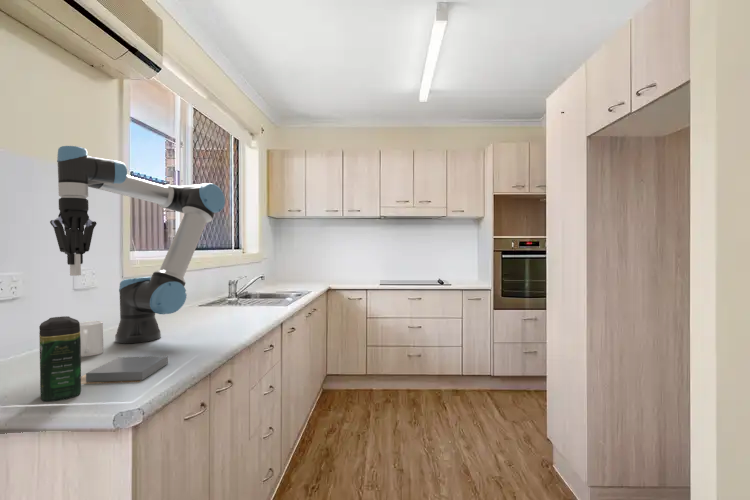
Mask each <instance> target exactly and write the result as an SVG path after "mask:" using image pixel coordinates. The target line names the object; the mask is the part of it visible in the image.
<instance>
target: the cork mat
mask: <svg viewBox="0 0 750 500" xmlns="http://www.w3.org/2000/svg"><path fill="white" fill-rule="evenodd" d="M142 381H143V380H134V381H102V382H86V374H84V375H81V385H91V384H122V383H124V384H125V383H127V384H128V383H140V382H142Z"/></svg>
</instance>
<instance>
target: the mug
mask: <svg viewBox="0 0 750 500" xmlns="http://www.w3.org/2000/svg"><path fill="white" fill-rule="evenodd" d="M79 323H80V338H81V357H90V356H91V357H92V356H97V355H102V354H103V353H104V322H103V321H102V320H89V321H79Z"/></svg>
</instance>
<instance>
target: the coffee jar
mask: <svg viewBox="0 0 750 500" xmlns="http://www.w3.org/2000/svg"><path fill="white" fill-rule="evenodd" d="M48 318H49V319H46V320H44V321H43V322H41V323H40V324H39V332H38V333H39V377H40V378H39V379H40V380H39V384H40V385H39V390H40V391H39V392H40V399H41V400H42V401H43V402H58V401H64V400H68V399H71V398H74V397H78V396H79V395H80V394H81V392H82V384H81V377H82V356H81V338H80V323H79V322H80V321H79V320H78V319H76V318H73V317H71V316H66V315H65V316H55V317H48Z"/></svg>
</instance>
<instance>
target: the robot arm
mask: <svg viewBox="0 0 750 500" xmlns="http://www.w3.org/2000/svg"><path fill="white" fill-rule="evenodd" d="M56 158H57V160H56V162H57V176H58V177H57V179H58V188H57V189H58V197H60V198H58V210H59V214H57V215H58V216H57V217H56V218H55V219H51V220H50V221H49V223H50V225H51V226H52V228H53V231H54V234H55V238H56V241H57V246H58V248H59V252H60V253H64V254H65V255H67V256H66V258H67V260H66V261H67V262H66V263H67V265H69V275H70V276H74V277H77V276H78V277H79V276H82V268H81V266H82V265H83V263H84V260H83V259H84V256H83V255H84V254H85V253H86V252H87V253H88V252H89V251H90V248H91V243H92V238H93V234H94V233H93V232H94V229H95V227H96V225H97V223H98V222H97V221H93V220H92V219H90V216H89V214H88V212H89V199H88V197H89V188H92V189H96V190H100V191H105V192H109V193H113V194H117V195H122V196H125V197H129V198H133V199H136V200H137V199H138V200H141V201H146V202H149V203H154V204H158V205H159V207H161V208H162V209H166V210H171V211H175V212H178V213H182V214H183V217H182V219H181V221H180V224H179V225H178V228H177V230H176V232H175V235H174V237H173V240H172V241H171V244H170V246H169V248H168V250H167V253H166V255H165V257H164V259H163V261H162V264H161V266H160V268H159V269H158V270H155V271H154V272H152V275H151V276H144V277H135V278H134V277H133V278H126V279H123V280H121V281H120V282H119V289H118V292H119V314H120V315H119V316H120V317H119V318H120V319H119V323H118V327H117V330H116V334H115V336H114V337H115V339H114V341H115V343H116V344H117V343H118V344H137V343H144V342H145V343H146V342H152V341H155V340H159V339H161V336H162V333H161V329H160V327H159V324H158V322H157V319H156V314H158V315H172V314H175V313H176V312H178V311H180V310H181V308H183V306H184V304H185V303H186V301H187V294H188V293H186V292H187V290H186V287H185V286H186V280H185V279H184V277H185V274H186V273H187V270H188V268H189V265H190V263H191V261H192V258H193V256H194V253H195V251H196V248H197V247H198V243H199V241H200V239H201V236H202V234H203V232H204V229H205V227H206V226H207V225H206V224H208V223H211V222H212V220H213V218H214V216H215V214H216V213H220V212H222V210H223V209H224V207H225V204H226V199H225V195H224V192H223V191H222V189H221V188H220V187H219V186H218V185H217V184H214V183H211V182H210V183H207V182H203V183H200V184H198V183H197V184H191V185H189V184H188V185H172V184H168V183H165V184H164V185H163V184H159V183H156V182H154V181H153V182H152V181H149V180H146V179H141V178H140V177H139V178H138V177H134V176H133V175H132V176H131V175H129V174H128V167H127V165H126V164H125V162H122V161H119V160H115V159H109V158H101V157H96V156H91V155H89V154H88V150H87V149H86V148H85V147H81V146H77V145H75V146H74V145H62V146H60V147H58V149H57V157H56Z"/></svg>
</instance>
